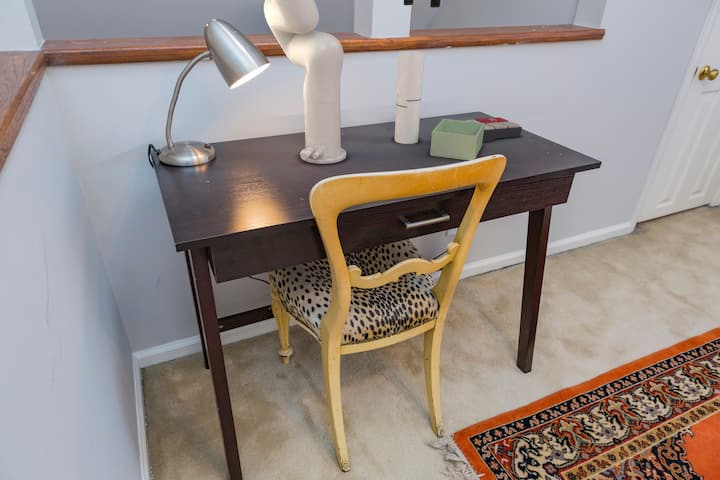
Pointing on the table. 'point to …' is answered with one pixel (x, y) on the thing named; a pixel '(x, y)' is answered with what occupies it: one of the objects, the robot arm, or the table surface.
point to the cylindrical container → (409, 96)
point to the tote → (457, 139)
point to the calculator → (498, 128)
